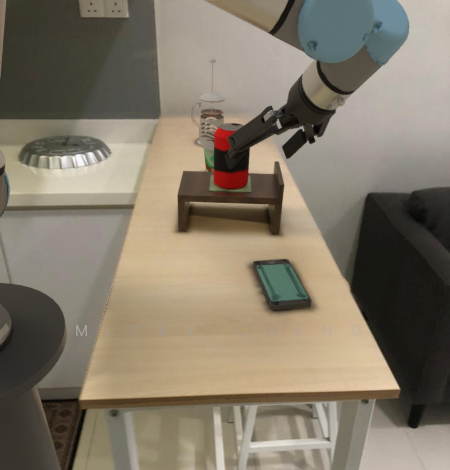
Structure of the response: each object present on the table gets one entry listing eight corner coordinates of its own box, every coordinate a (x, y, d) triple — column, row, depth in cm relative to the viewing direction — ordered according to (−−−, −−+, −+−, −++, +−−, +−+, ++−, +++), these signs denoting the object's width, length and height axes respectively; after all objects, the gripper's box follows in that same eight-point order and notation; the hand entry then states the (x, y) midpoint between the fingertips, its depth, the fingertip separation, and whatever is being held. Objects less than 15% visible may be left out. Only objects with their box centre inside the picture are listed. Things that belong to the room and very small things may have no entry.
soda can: (251, 179, 104) (255, 124, 97) (242, 191, 98) (245, 134, 91) (219, 174, 106) (220, 120, 99) (208, 186, 100) (209, 129, 93)
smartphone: (287, 257, 91) (312, 301, 79) (287, 263, 92) (311, 307, 80) (251, 260, 90) (271, 304, 78) (251, 265, 91) (270, 311, 79)
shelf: (178, 231, 101) (176, 180, 95) (183, 204, 113) (182, 157, 106) (278, 234, 102) (284, 184, 95) (274, 207, 113) (278, 161, 106)
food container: (199, 180, 126) (199, 143, 120) (200, 172, 131) (200, 136, 125) (244, 182, 126) (246, 145, 120) (244, 174, 131) (246, 138, 125)
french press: (223, 148, 149) (225, 61, 134) (188, 145, 150) (186, 59, 136) (228, 139, 157) (231, 56, 142) (195, 136, 158) (194, 54, 144)
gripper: (263, 121, 66) (208, 186, 85) (386, 104, 77) (313, 165, 96) (244, 73, 66) (194, 148, 85) (369, 64, 77) (300, 132, 96)
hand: (257, 157), depth 90 cm, fingers open, 13 cm apart
